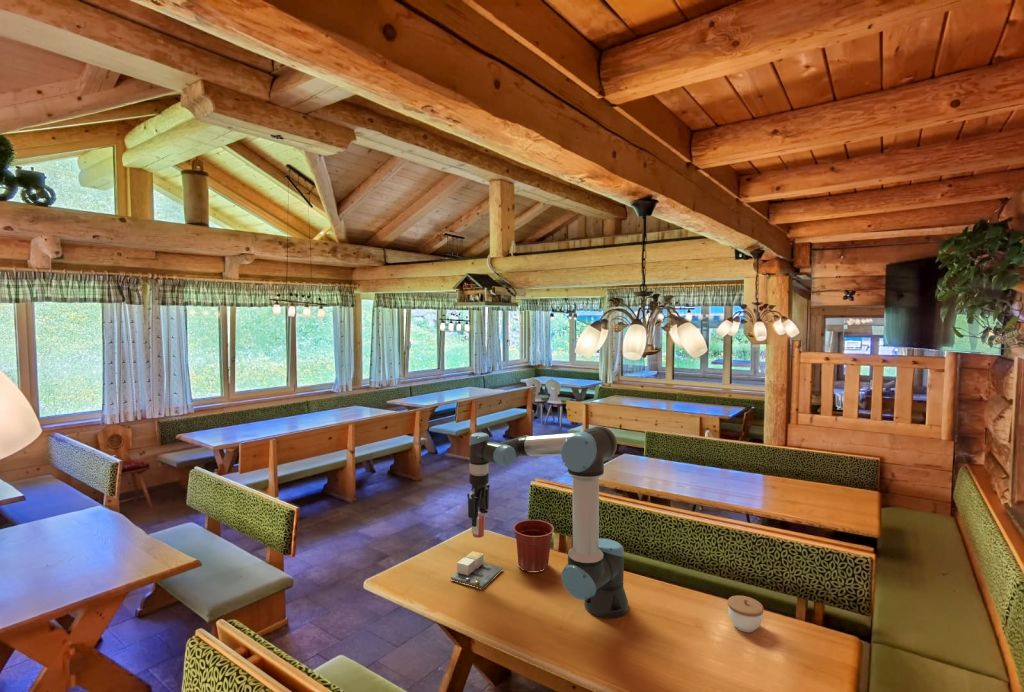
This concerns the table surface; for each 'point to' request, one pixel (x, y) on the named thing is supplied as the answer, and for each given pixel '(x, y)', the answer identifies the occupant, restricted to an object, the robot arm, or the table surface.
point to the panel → (479, 575)
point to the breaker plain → (465, 566)
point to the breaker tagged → (476, 558)
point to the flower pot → (533, 544)
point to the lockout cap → (480, 527)
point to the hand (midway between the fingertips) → (478, 531)
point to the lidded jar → (745, 613)
